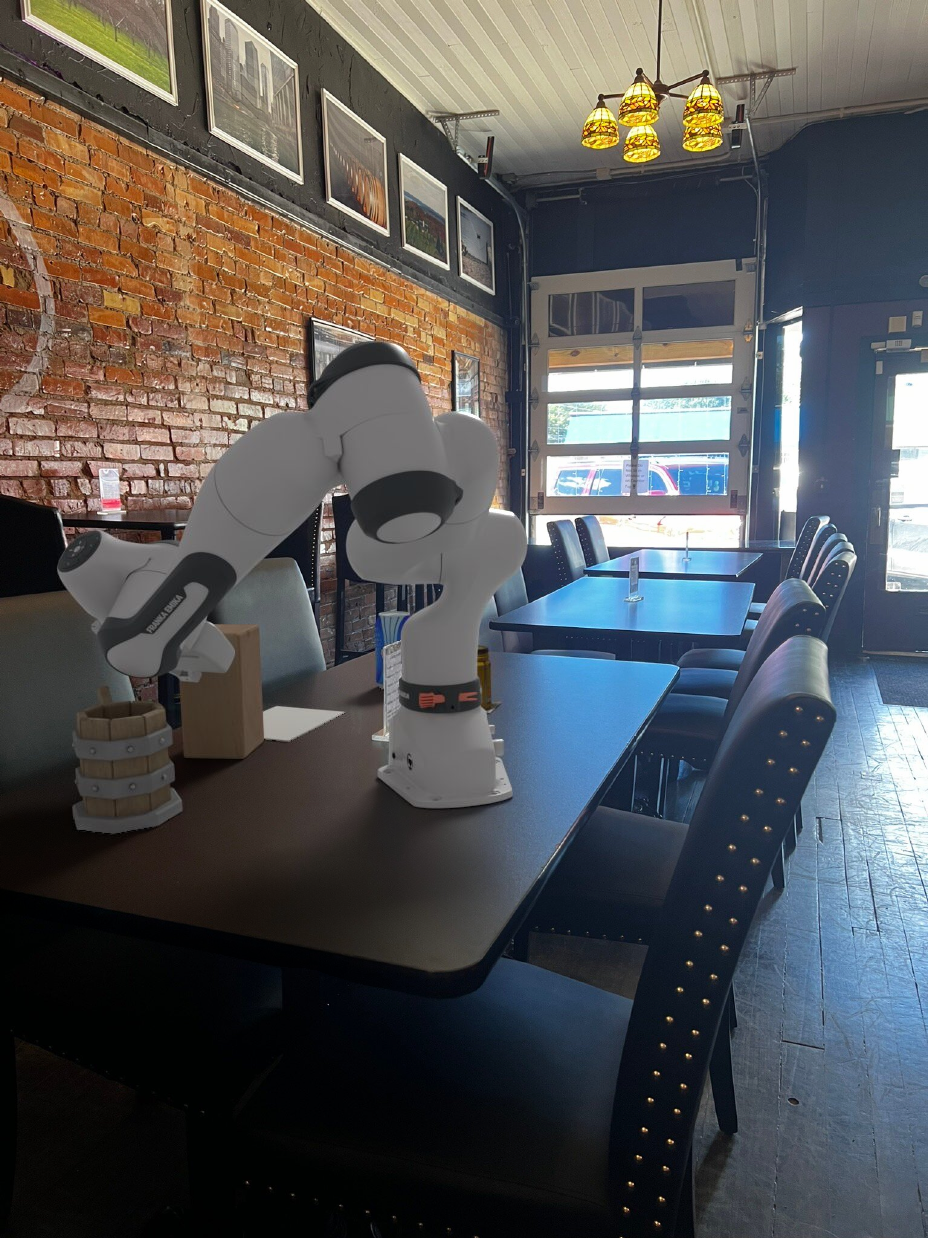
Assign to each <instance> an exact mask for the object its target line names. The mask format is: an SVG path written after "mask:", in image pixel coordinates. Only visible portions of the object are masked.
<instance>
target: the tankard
mask: <svg viewBox="0 0 928 1238" xmlns="http://www.w3.org/2000/svg"><path fill="white" fill-rule="evenodd" d="M96 695H97V702H98V703H99V704H97V705H94V706H90V707H87V708H85V709H83V710H80V711H77V713H76V727H77V729H74V730H73V731H72V744H71V746H72V748H73V749H74V753H75V755H76V757H77V758H78V759H79V765H80V766H78V767H76V768H75V779H74V783H75V784H76V787H77V790H78V792H79V796H80V797H82V800H81V801H79V802H76V803H75V804H73V805H72V816H73V820H75V821H74V823H75V827H76V830H78V831H79V830H86V831H92V832H91V833H95V832H102V833H101V834H104V833H111V834H110V835H113V834H115V833H120V834H122V833H121V832H125V833H128V832H127V831H131V830H136V831H139V830H138V829H141V830H145V829H144V828H147V829H150V828H149V827H152V828H157V827H159V826H161V825H162V824H163V823H165V822H166V821H169V820H170V819H172V818H173V817H176V816H177V815H179V814H180V813H182V812H183V811H184V809H183V800H182V798H181V797H180V795H179V794H178V793H177V791H176V790H175V788H174V787H171V784H172V783H173V782H175V781H176V776H175V773H176V772H175V764H174V762H173V761H172V760H171V758H170V757H169V747H171V746H172V745H173V744H174V743H173V741H174V740H173V728H172V727H171V726H170V725H169V722H167V713H166V712H167V711H166V710H167V709H166V708H165V707H164V706H163V705H162V704H161V703H160V702H157V701H146V700H132V701H131V700H126V701H117V702H115V701H113V699H112V696H111V691H110V687H109V686H108V685H102V686H101V685H100V686H98V688H97V693H96ZM168 819H169V820H168ZM156 826H157V827H156ZM86 831H85V832H86ZM131 832H132V831H131ZM115 835H116V834H115Z"/></svg>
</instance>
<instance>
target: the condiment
mask: <svg viewBox="0 0 928 1238" xmlns="http://www.w3.org/2000/svg"><path fill="white" fill-rule="evenodd" d="M489 651H490V649H489V646H485V645H479V644H478V651H477V676H478V677H479V678H480V685H481V688H482V704H481V707H482V708H483V709H484V710H485V711H487V714H491V713H492V712H493V711H494V710H495V709H496V708H497V707H498V706H499V705H501V703H502V701H492V662H491V660H490V654H489Z"/></svg>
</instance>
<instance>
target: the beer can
mask: <svg viewBox="0 0 928 1238" xmlns="http://www.w3.org/2000/svg"><path fill="white" fill-rule="evenodd" d="M410 615H411V613H410V612H407V611H396V610H395V611H383V612H379V613H378V617H377V619H376V621H375V623H374V650H375V651H374V652H375V653H374V655H375V659H374V660H375V661H374V662H375V682H376V684H377V685H378V687H379V689H380V688H381V690H383V658H382V655H381V650H382V649H383V647H384V646H385V645H387V644H391V643H393V642H396V641H400V640H401V630H402V628H403V625H404V624H405V622H406V621H407V620H408V618H410V617H411V616H410ZM383 691H384V690H383Z"/></svg>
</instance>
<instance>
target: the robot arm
mask: <svg viewBox="0 0 928 1238" xmlns="http://www.w3.org/2000/svg"><path fill="white" fill-rule="evenodd" d="M429 403H430V402H429V401H428V398H427V396H426V393H425V391H424V388H423V386H422V377H421V375H420V372H419V370H418V368H417V367H416V364H415V363H414V361H413V360H412V358H411V356H410V355H409V354H408V352H407V351H406V350H405V349H404V348H403V347H401V346H400V345H398V344H395V343H391V342H387V341H382V340H368V341H360V342H357V343H355V344H352V345H350V346H349V347H347V348H345V349H343V350H342V351H341V352H339V353H338V354H337V355H336V356H335V357H334V358H333V359H332V360H331V361H330V362H329V363H328V364H327V365H326V366H325V367H324V369H323V370H322V372H321V374H320V376H319V378H318V379H315V380H314V381H313V382H311V384H310V385H309V387H308V390H307V394H306V406H307V408H308V409H309V410H306V411H303V412H301V411H292V410H288V411H280V412H277V413H275V414H272V415H271V416H268V417H267V418H265V419H264V420H262V421H260V422H259V423H257V424H256V425H254V426H252V428H250V429H249V430H247V431H246V432H245V433H244V434H242V435H241V436H240V437H239V438H238V439H237V440H236V441H235V442H234V443H233V444H231V445H230V446H229V447H228V448H227V450H226V451H224V453H222V455H221V456H220V457H219V458H218V460H217V461H216V462H215V464H213V466H212V467H211V469H210V470H209V472H208V473H207V475H206V477H205V479H204V480H203V483H202V485H201V487H200V489H199V490H198V493H197V495H196V498H195V500H194V503H193V505H192V509H191V511H190V513H189V517H188V519H187V522H186V524H185V528H184V530H183V533H182V536H181V539H180V540H175V539H166V540H165V539H164V540H157V541H152V542H146V543H136V542H132V541H126V540H122V539H119V538H117V537H114V536H113V535H111V534H110V533H108V532H106V531H103V530H100V529H95V530H89V531H87V532H84V533H81V534H80V535H78V536H76V537H75V539H74V540H72V541H70V543H69V544H68V545H67V546H66V548H65V549H64V551H63V553H62V554H61V556H60V558H59V559H58V563H57V566H56V569H57V574H58V576H59V579H60V580H61V582H62V584H63V586H64V587H65V588H66V590H67V591H68V593H70V595H71V596H72V597H73V598H74V600H75V601H76V602H77V603H78V604H79V605H80V606H81V607H82V608H83V610H84V611H85V612H87V613H88V614H89V615H90V616H91V617H93V618H95V619H96V620H95V621H94V622H93V623H91V628H90V629H91V631H92V632H93V633H94V634H95V635H96V636H95V637H96V641H97V644H98V647H99V649H100V651H101V653H102V655H103V658H104V659H105V661H106V662H107V663H108V665H109V666H110V667H111V668H112V669H113V670H115V671H116V672H118V673H119V674H122V675H124V676H127V677H131V678H134V679H140V680H142V679H145V680H146V679H153V678H157V677H159V676H163V675H166V674H167V673H168V674H171V675H174V676H175V677H177V678H178V679H180V680H181V681H189V682H199V680H200V678H201V676H202V673H201V672H213V673H226V672H227V670H228V669H229V667H230V665H231V663H232V661H233V659H234V656H235V650H234V648H233V647H232V645H231V644H230V642H229V641H228V640H227V638H226V637H225V636H224V635H223V634H222V632H221V631H220V630H219V629H218V628H217V627H216V626H215V625H213V624H214V623H212V622H210V621H208V619H207V618H208V616H209V614H211V613H212V611H213V610H214V609H215V608H216V607H217V606H218V605H219V603H220V602H221V601H222V600H223V599H224V598H225V596H226V595H227V594H228V593H229V592H230V591H231V590H232V589H233V588H234V587H235V586H236V585H238V584H239V583H241V581H242V580H243V579H244V578H245V577H246V576H247V575H248V574H249V573H250V572H251V571H252V570H253V568H255V567H256V566H257V565H258V564H259V563H260V562H261V561H262V560H263V559H264V558H265V557H267V556H268V555H269V554H270V553H271V552H272V551H273V550H274V549H275V548H276V547H277V546H279V545H280V544H281V543H282V542H283V541H284V540H285V539H287V538H288V537H289V536H290V535H291V534H292V533H293V532H294V531H296V529H298V528H299V527H300V526H301V525H302V524H303V523H304V522H305V521H306V520H307V519H308V518H309V517H310V516H311V515H312V514H313V513H314V511H316V509H317V508H318V507H319V506H320V505H321V503H322V502H323V500H324V498H326V496H327V495H328V493H329V492H330V491H331V490H333V489H335V488H337V487H339V486H343V485H344V486H345V488H346V490H347V493H348V495H349V498H350V509H351V512H352V514H353V516H354V518H355V519H354V520H353V522H352V523H351V525H350V527H349V530H348V531H347V535H346V541H345V549H346V550H345V551H346V556H347V559H348V562H349V565H350V566H351V569H352V570H353V571H354V572H355V573H356V574H357V576H358V577H359V578H361V580H364V581H369V582H375V583H380V584H387V585H394V586H397V585H398V586H399V585H400V586H401V585H430V584H431V585H433V584H437V585H442V586H443V588H442V592H441V595H440V596H439V598H438V599H437V600H436V601H434V602H433V603H432V604H430V605H428V606H425V607H424V608H421V609H420V610H418V611H416V612H415V613H413V614H412V615H411V616H410V618H408V620H407V621H406V622H405V624H404V625H403V628H402V630H401V664H402V677H401V678H400V679H399V687H398V691H397V693H398V702H399V704H400V705H399V708H398V710H397V711H396V713H395V714H393V716H391V718H390V719H389V722H388V723H389V724H388V725H389V727H388V729H389V730H388V764H386V765H383V766H381V767H379V768H378V769H377V777H378V778H379V779H380V780H382V782H384V783H385V784H386V785H387V786H389V788H391V790H394V791H395V793H397V794H398V795H399V796H400V797H402V798H403V799H404V800H406V801H407V802H408V803H409V804H411V805H412V806H413V807H414V808H415V807H416V808H423V809H424V808H425V809H450V808H452V809H453V808H464V807H465V808H466V807H471V806H473V807H474V806H480V805H481V806H482V805H486V804H487V805H488V804H493V803H497V802H502V801H504V800H508V799H510V798H512V797H514V795H513V788H512V785H511V782H510V779H509V776H508V774H507V770H506V768H505V766H504V762H503V760H502V757H501V756H503V755H504V754H505V743H504V739H500V738H495V739H493V737H492V735H495V734H496V725H495V724H489V721H488V713H487V711H485V710H484V709H483V708H482V707H481V704H482V688H481V685H480V678H479V677H478V676H477V651H478V646H479V636H480V635H479V633H480V628H481V627H480V626H481V622H482V619H483V616H484V614H485V610H486V608H487V607H488V604H489V603H490V601H491V599H492V598H493V596H494V595H495V594H496V593H497V592H498V590H499V589H500V588H501V587H502V585H503V584H505V583H506V582H507V581H508V580H510V579H511V578H512V577H513V576H515V575H516V574H517V573H518V571H519V570H520V569H521V568H522V566H523V563H524V561H525V559H526V556H527V553H528V552H527V551H528V537H527V533H526V529H525V527H524V525H523V522H521V520H520V518H518V516H517V514H515V513H514V512H513V511H511V510H505V509H501V508H496V507H495V508H494V507H492V503H493V501H494V498H495V494H496V493H497V492H496V491H497V487H498V481H499V475H500V451H499V444H498V441H497V438H496V435H495V433H494V431H493V429H492V428H491V427H490V426H489V425H488V424H487V423H486V422H485V421H484V419H482V418H481V417H479V416H477V415H475V414H472V413H469V412H466V411H459V410H456V411H453V410H452V411H448V412H444V413H441V414H439V415H437V416H435V417H434V414H433V412H432V409H431V406H430V404H429ZM498 756H500V757H501V758H500V757H498Z"/></svg>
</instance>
